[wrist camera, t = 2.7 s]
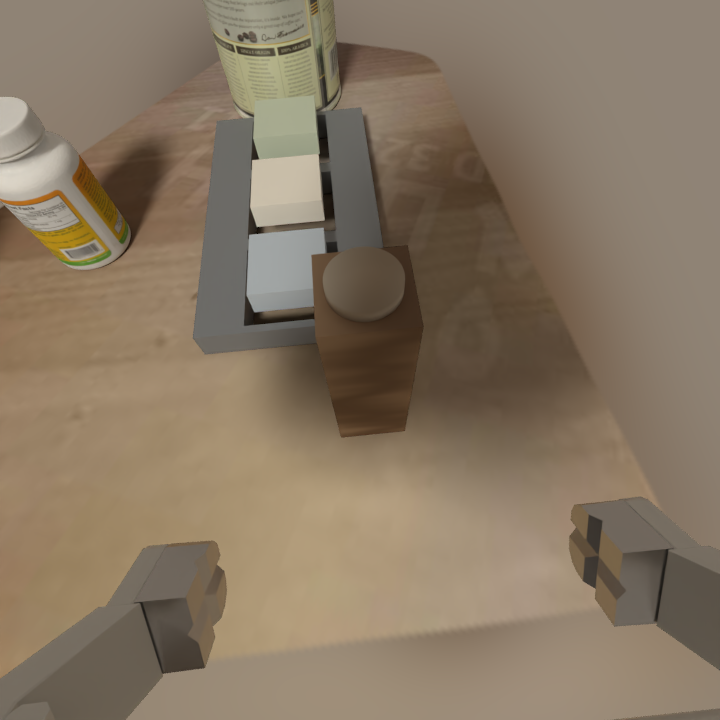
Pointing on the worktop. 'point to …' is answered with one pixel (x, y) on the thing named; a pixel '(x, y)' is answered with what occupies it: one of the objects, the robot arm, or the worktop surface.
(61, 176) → the supplement bottle
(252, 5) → the coffee can
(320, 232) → the key
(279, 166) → the key mid
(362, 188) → the keypad
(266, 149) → the key
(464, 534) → the worktop surface
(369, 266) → the wooden pepper mill
